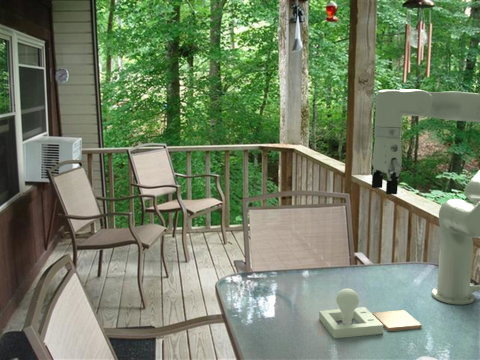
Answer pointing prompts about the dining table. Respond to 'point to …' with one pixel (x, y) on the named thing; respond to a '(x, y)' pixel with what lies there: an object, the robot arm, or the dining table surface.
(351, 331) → the slotted square frame
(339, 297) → the lightbulb
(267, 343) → the dining table surface
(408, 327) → the tile
